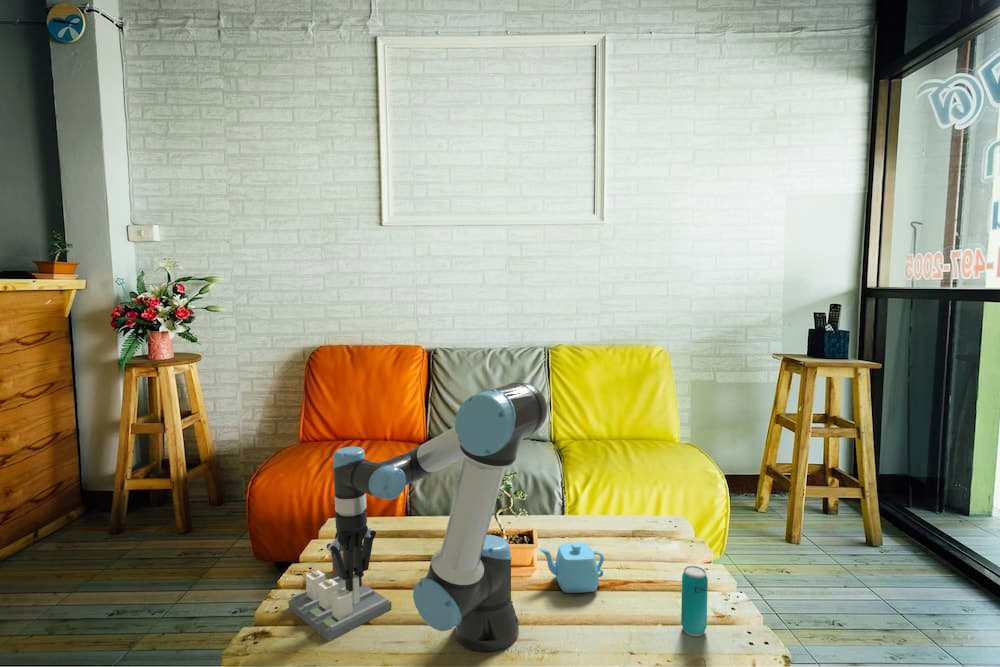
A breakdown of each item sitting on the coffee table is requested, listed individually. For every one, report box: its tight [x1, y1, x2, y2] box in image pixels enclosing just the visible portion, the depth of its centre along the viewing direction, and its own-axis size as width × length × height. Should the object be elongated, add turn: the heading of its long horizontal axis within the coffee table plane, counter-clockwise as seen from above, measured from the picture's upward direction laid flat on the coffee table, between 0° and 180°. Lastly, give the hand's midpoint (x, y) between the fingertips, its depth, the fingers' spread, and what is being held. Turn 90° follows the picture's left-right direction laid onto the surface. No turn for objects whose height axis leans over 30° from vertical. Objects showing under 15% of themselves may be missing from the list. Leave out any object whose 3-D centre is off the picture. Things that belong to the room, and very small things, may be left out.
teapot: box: [538, 542, 605, 594], centre depth 157 cm, size 12×18×12 cm
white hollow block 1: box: [305, 569, 327, 601], centre depth 149 cm, size 4×4×6 cm
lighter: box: [331, 544, 344, 579], centre depth 165 cm, size 8×3×10 cm, turn 168°
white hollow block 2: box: [331, 588, 353, 621], centre depth 140 cm, size 4×4×6 cm
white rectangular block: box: [318, 578, 339, 611], centre depth 144 cm, size 4×4×6 cm
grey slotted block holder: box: [287, 576, 393, 642], centre depth 147 cm, size 20×18×3 cm
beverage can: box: [680, 565, 709, 638], centre depth 135 cm, size 6×6×15 cm
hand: (354, 600), depth 143 cm, fingers closed
